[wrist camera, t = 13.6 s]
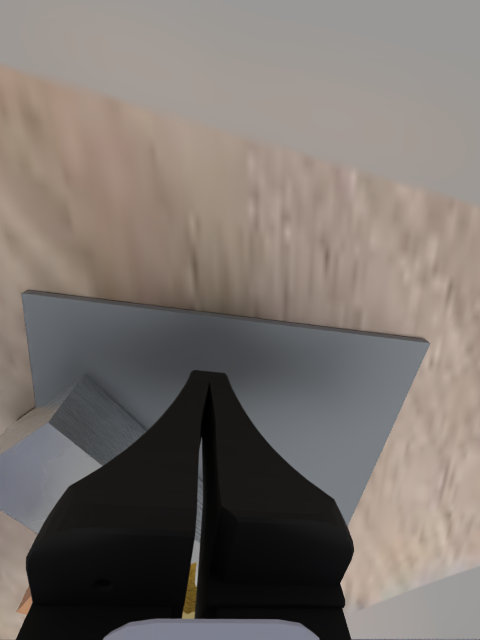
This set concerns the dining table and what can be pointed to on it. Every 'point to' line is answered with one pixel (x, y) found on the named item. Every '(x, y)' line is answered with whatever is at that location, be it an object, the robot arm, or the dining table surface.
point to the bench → (236, 376)
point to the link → (70, 457)
